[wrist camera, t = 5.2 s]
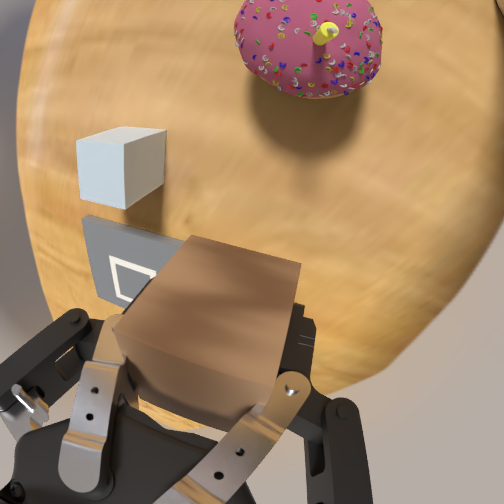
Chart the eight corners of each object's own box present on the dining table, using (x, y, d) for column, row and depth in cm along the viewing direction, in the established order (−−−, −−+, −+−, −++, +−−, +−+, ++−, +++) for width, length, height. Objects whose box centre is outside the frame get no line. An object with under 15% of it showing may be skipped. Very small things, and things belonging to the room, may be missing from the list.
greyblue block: (166, 129, 21) (123, 144, 16) (164, 183, 24) (125, 209, 19) (121, 126, 22) (76, 140, 17) (121, 175, 24) (80, 198, 20)
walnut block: (301, 263, 12) (273, 387, 7) (277, 337, 14) (249, 438, 10) (191, 234, 12) (112, 329, 7) (191, 311, 15) (140, 398, 10)
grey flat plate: (234, 255, 26) (230, 262, 25) (223, 335, 33) (219, 343, 32) (88, 214, 28) (81, 219, 27) (102, 291, 35) (97, 297, 34)
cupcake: (391, 74, 15) (469, 54, 5) (292, 119, 19) (258, 144, 9) (327, -17, 12) (325, -109, 2) (231, 31, 16) (139, -17, 6)
